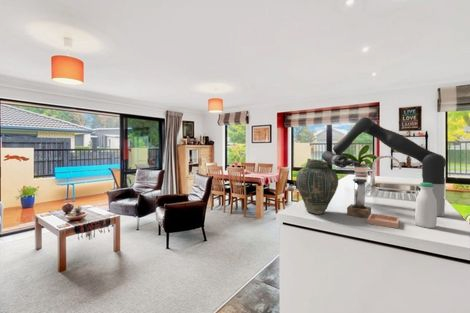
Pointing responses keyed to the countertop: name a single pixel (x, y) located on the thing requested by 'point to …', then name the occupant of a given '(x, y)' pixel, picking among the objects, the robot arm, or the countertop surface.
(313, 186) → the vase
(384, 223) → the dish
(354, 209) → the socket block
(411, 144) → the robot arm
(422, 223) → the milk bottle
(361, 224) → the countertop surface
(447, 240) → the countertop surface
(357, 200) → the clear bottle
